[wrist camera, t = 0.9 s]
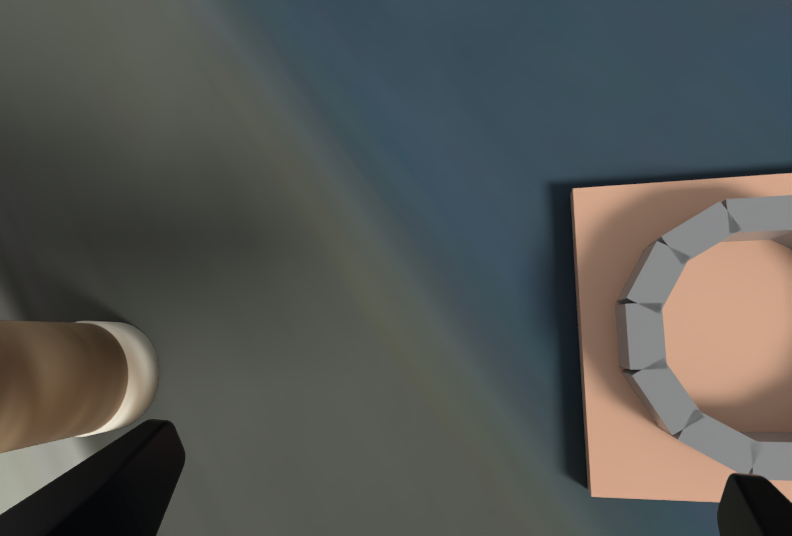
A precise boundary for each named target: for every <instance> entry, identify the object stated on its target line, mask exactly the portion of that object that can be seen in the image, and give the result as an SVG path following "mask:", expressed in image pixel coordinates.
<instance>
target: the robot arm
mask: <svg viewBox="0 0 792 536" xmlns="http://www.w3.org/2000/svg"><path fill="white" fill-rule="evenodd" d="M184 463H185V450H184V448H183V445H182V443H181V440H180V438H179V436H178V433H177V431H176V428H175V426H174V424H173V423H172V422H170V421H168V420H157V419H150V420H147V421H145V422H143V423H141V424H140V425H138V426H137V427H135V428H134V429H132V430H131V431H129V432H127V433H126V434H124V435H123V436H121V437H120V438H118V439H117V440H115V441H114V442H112V443H111V444H109V445H107V446H106V447H104V448H103V449H101V450H100V451H98V452H97V453H95V454H94V455H92V456H90V457H89V458H87V459H86V460H84V461H83V462H81V463H80V464H78V465H77V466H75V467H73V468H72V469H70V470H69V471H67V472H66V473H64V474H63V475H61V476H60V477H58V478H56V479H55V480H53V481H52V482H50V483H49V484H47V485H46V486H44V487H43V488H41V489H39V490H38V491H36V492H35V493H33V494H32V495H30V496H29V497H27V498H26V499H24V500H23V501H21V502H19V503H18V504H16V505H15V506H13V507H12V508H10V509H9V510H7V511H6V512H4V513H2V514H1V515H0V536H156V535H157V532H158V530H159V527H160V525H161V522H162V519H163V517H164V514H165V512H166V509H167V507H168V504H169V502H170V499H171V497H172V494H173V492H174V489H175V487H176V484H177V482H178V479H179V477H180V474H181V472H182V469H183V467H184ZM717 521H718V527H719V532H720V536H792V502H791V501H790V500H789V499H788V498H786V497H785V496H784V495H783V494H782V493H781V492H780V491H779V490H778V489H777V488H776V487H775V486H774V485H773V484H772V483H771V482H770V481H769V480H768V479H766V478H765V477H763V476H761V475H755V474H744V473H732V474H730V475H729V477H728V479H727V481H726V484H725V487H724V491H723V494H722V497H721V500H720V503H719V506H718V511H717Z"/></svg>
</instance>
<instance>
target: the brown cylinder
mask: <svg viewBox="0 0 792 536" xmlns="http://www.w3.org/2000/svg"><path fill="white" fill-rule="evenodd" d="M158 380H159V365H158V359H157V355H156V352H155V350H154V347H153V346H152V344H151V342H150V341H149V339H148V338H147V337H146V335H145V334H144V333H143V332H141V331H140V330H139V329H137V328H136V327H134V326H132V325H129V324H127V323H122V322H102V321H77V322H74V323H69V322H38V321H7V320H0V453H3V452H8V451H12V450H17V449H21V448H25V447H30V446H34V445H39V444H43V443H48V442H52V441H56V440H61V439H65V438H70V437H84V436H89V435H93V434H97V433H102V432H106V431H110V430H115V429H119V428H123V427H125V426H128V425H130V424H131V423H133V422H135V421H136V420H137V419H139V418H140V417H141V416H142V415H143V414H144V412H145V411H146V410H147V409H148V407H149V406H150V404H151V402H152V400H153V398H154V396H155V393H156V390H157V386H158Z"/></svg>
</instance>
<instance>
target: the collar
mask: <svg viewBox="0 0 792 536" xmlns="http://www.w3.org/2000/svg"><path fill="white" fill-rule="evenodd" d="M570 198H571V215H572V231H573V248H574V265H575V282H576V298H577V315H578V332H579V349H580V365H581V382H582V399H583V416H584V432H585V449H586V466H587V483H588V491H589V493H590V495H591V497H608V498H631V499H654V500H678V501H701V502H720V500H721V497H722V494H723V491H724V487H725V484H726V481H727V479H728V477H729V475H730V474H732V473H744V474H755V475H761V476H763V477H765V478H766V479H768V480H769V481H770V482H771V483H772V484H773V485H774V486H775V487H776V488H777V489H778V490H779V491H780V492H781V493H782V494H783V495H784V496H785V497H786V498H788V499H789V500H790V501H791V502H792V173H786V174H771V175H757V176H743V177H729V178H715V179H700V180H686V181H672V182H658V183H643V184H629V185H615V186H601V187H587V188H573V189H572V192H571V194H570Z"/></svg>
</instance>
